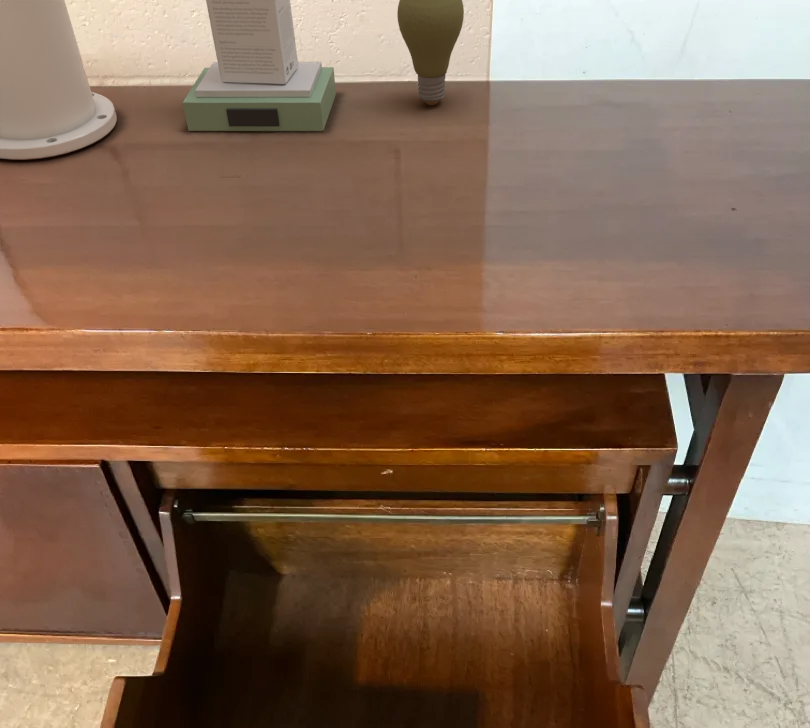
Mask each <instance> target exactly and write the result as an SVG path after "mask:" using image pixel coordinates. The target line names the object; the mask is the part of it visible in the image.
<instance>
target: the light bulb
mask: <svg viewBox="0 0 810 728" xmlns="http://www.w3.org/2000/svg"><path fill="white" fill-rule="evenodd" d="M397 4H398V5H397V13H396V14H397V17H396V18H397V24H398V28H399V32H400V34H401V36H402V39H403V41H404V43H405V44H406V47H407V49H408V52H409V55H410V57H411V61H412V67H413V70H414V72H415V73H416V75H417V82H418V83H417V90H418V93H417V94H418V97H419V99H420V100H422V101H423V102H424V103H425V104H427V106H435V105H437V104H438V103H439V102H440V101H441V100H442V99H443V98H444V97H445V96H446V75H447V72H448V69H449V65H450V61H451V56H452V52H453V50H454V47H455V45H456V43H457V41H458V39H459V36H460V34H461V31H462V29H463V24H464V17H465V16H464V15H465V10H464V2H463V0H399V1H398V3H397Z"/></svg>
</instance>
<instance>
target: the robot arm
mask: <svg viewBox="0 0 810 728" xmlns="http://www.w3.org/2000/svg"><path fill="white" fill-rule="evenodd" d="M68 11H69V10H68V8H67V4H66V1H65V0H0V159H1V160H13V161H14V160H15V161H16V160H17V161H18V160H19V161H21V160H22V161H24V160H25V161H27V160H38V159H39V160H40V159H45V158H53V157H57V156H60V155H65V154H69V153H71V152H76V151H78V150H82V149H83V148H86V147H88V146H91V145H93V144H95V143H96V142H98V141H100V140H102V139H103V138H104V137H106V136H107V135H108V134H110V132H111V131H112V130H113V129H114V128H115V126H116V123H117V121H118V117H117V112H116V109H115V106H114V103H113V102H112V101H111V100H110V99H109V97H106V96H104V95H102V94H100V93H97V92H94V91H92V90H91V86H90V82H89V80H88V76H87V73H86V69H85V66H84V62H83V59H82V55H81V51H80V48H79V45H78V42H77V39H76V35H75V31H74V29H73V28H74V27H73V24H72V21H71V18H70V13H69V12H68Z"/></svg>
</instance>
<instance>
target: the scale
mask: <svg viewBox="0 0 810 728" xmlns="http://www.w3.org/2000/svg"><path fill="white" fill-rule="evenodd" d="M322 65H323V64H322V61H298V68H297V69H296V71H295V72H294V73H293V74H292V76H291V77H290V78H289V80H288V81H287V82H286V84H267V83H232V82H222V81H221V77H220V72H219V67H218V61H213V62H212V63H211V64H210V66H209V67H204V68H203V70H202V71H201V72H200V74H199V75H198V77H197V79H196V81H195V82H194V84H193V85H192V87H191V88H190V90H189V91H188V93H187V95H186V96H185V98H184V99H183V101H182V102H181V103H182V108H183V112H184V117H185V120H186V125H187V131H188V132H324V131H325V128H326V124H327V122H328V119H329V116H330V113H331V110H332V108H333V104H334V102H335V99H336V96H337V91H336V90H337V89H336V79H335V68H334V66H322Z"/></svg>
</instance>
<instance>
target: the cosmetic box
mask: <svg viewBox="0 0 810 728" xmlns="http://www.w3.org/2000/svg"><path fill="white" fill-rule="evenodd" d="M205 2H206V3H205V4H206V8H207V13H208V14H207V15H208V17H209V18H208V19H209V23H210V29H211V34H212V40H213V45H214V51H215V55H216V62H218V67H219V72H220V77H221V81H222V82H232V83H267V84H286V82H287V81H288V80H289V78H290V77H291V76H292V74H293V73H294V72H295V71H296V69H297V68H298V62H299V61H298V53H297V44H296V36H295V29H294V28H295V27H294V21H293V20H294V19H293V13H292V6H291V0H205Z"/></svg>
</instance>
